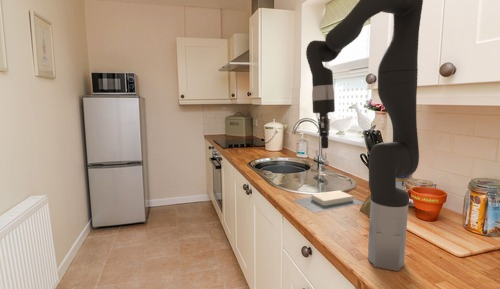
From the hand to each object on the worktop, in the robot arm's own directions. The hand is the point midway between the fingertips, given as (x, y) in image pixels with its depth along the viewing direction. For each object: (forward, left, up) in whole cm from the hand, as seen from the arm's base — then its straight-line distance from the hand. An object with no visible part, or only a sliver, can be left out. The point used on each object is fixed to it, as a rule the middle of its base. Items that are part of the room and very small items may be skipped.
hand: (325, 148), depth 106 cm
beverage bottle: (+34, -28, -28) cm, 52 cm away
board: (+19, +1, -28) cm, 34 cm away
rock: (+10, -17, -28) cm, 34 cm away
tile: (+16, +5, -25) cm, 30 cm away
